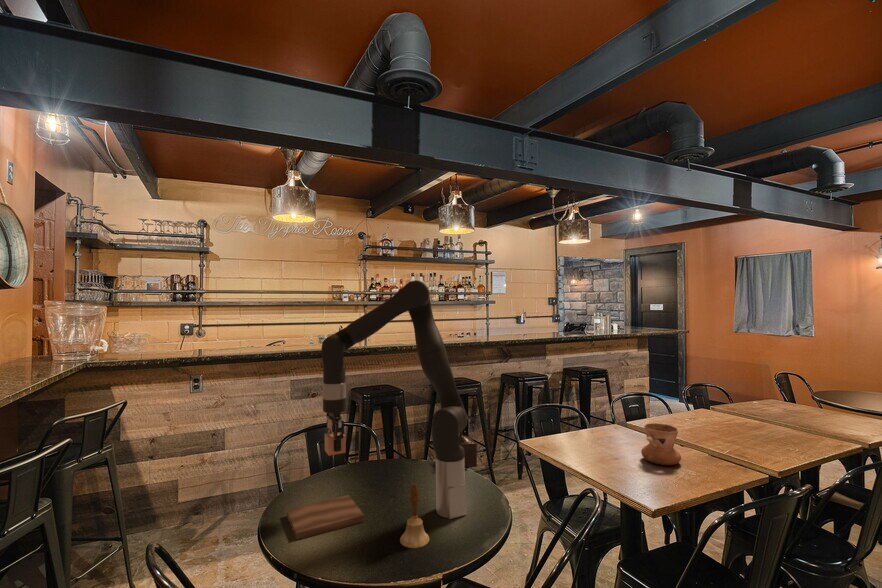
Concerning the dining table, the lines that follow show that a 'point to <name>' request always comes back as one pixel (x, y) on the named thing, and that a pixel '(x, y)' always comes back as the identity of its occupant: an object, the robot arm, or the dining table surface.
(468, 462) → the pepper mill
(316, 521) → the walnut board
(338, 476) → the dining table surface
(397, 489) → the dining table surface
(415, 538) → the hand bell
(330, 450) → the terracotta cube
